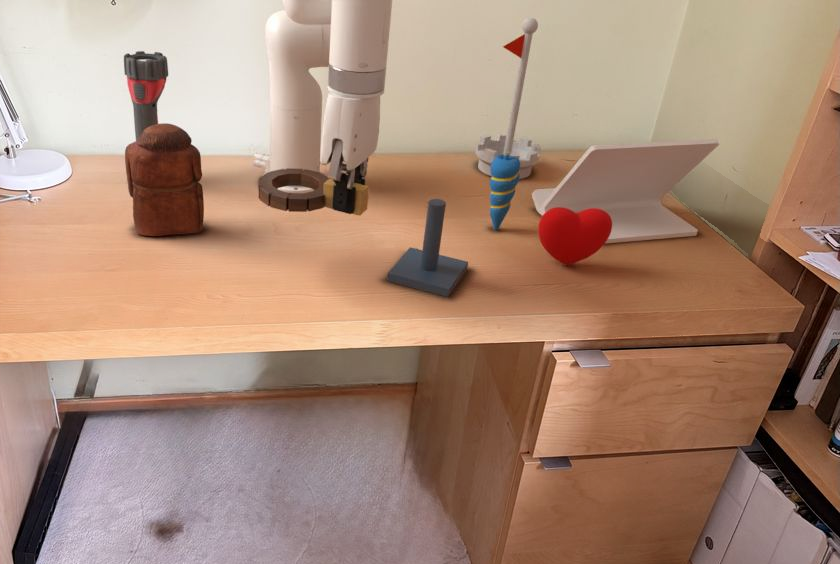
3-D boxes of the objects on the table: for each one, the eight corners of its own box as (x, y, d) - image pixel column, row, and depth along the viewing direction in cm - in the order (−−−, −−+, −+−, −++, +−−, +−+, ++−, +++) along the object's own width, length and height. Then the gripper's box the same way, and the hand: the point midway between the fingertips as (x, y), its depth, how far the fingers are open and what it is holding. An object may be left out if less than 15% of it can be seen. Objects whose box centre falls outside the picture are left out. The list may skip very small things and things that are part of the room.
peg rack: (386, 281, 121) (394, 206, 114) (408, 255, 128) (417, 183, 121) (448, 297, 117) (459, 221, 111) (467, 269, 125) (478, 197, 118)
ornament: (508, 238, 136) (524, 155, 127) (479, 234, 136) (493, 151, 128) (509, 225, 140) (524, 144, 132) (480, 221, 141) (494, 141, 132)
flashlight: (166, 168, 154) (157, 48, 141) (181, 182, 148) (173, 58, 136) (128, 174, 150) (115, 51, 138) (141, 188, 145) (129, 62, 132)
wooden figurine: (201, 219, 136) (196, 117, 126) (206, 235, 130) (201, 130, 120) (131, 223, 133) (120, 119, 123) (133, 240, 128) (122, 133, 118)
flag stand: (514, 155, 170) (541, 9, 154) (547, 178, 160) (580, 24, 144) (462, 160, 166) (484, 11, 149) (492, 183, 156) (519, 26, 139)
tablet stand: (698, 235, 141) (729, 144, 131) (576, 246, 134) (600, 151, 125) (640, 195, 155) (665, 110, 146) (528, 203, 149) (545, 115, 139)
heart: (595, 258, 131) (610, 203, 125) (605, 273, 127) (621, 217, 121) (527, 256, 130) (538, 200, 125) (535, 272, 126) (547, 215, 120)
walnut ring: (244, 200, 113) (244, 177, 111) (280, 175, 121) (280, 153, 119) (348, 227, 108) (349, 203, 106) (378, 198, 116) (380, 176, 114)
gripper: (355, 60, 110) (347, 182, 120) (303, 89, 97) (299, 222, 108) (404, 69, 107) (392, 193, 118) (358, 100, 95) (348, 235, 105)
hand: (347, 206), depth 113 cm, fingers closed on walnut ring, 2 cm apart
